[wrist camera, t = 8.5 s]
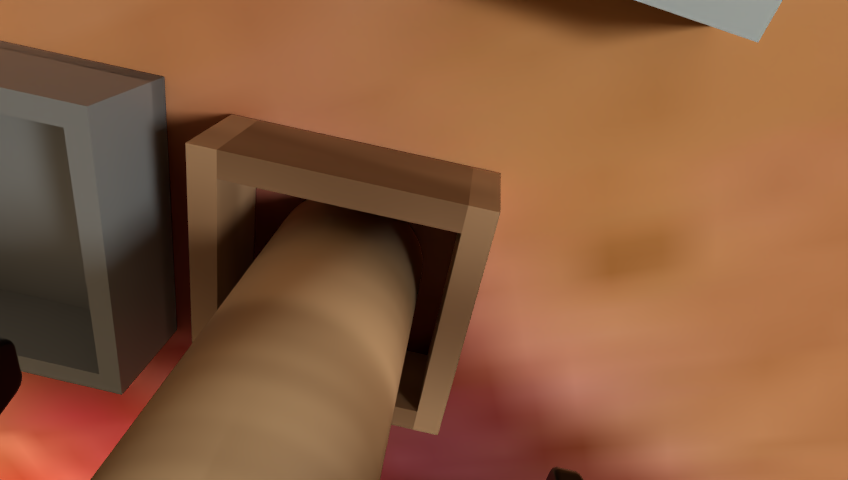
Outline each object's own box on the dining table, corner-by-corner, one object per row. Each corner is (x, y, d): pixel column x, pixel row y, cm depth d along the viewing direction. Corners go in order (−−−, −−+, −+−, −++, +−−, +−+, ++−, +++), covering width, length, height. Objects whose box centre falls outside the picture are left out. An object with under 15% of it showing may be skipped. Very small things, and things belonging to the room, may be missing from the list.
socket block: (445, 377, 15) (437, 435, 13) (229, 327, 15) (193, 379, 13) (500, 172, 12) (500, 212, 10) (231, 114, 12) (185, 142, 10)
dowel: (411, 331, 14) (313, 815, 6) (275, 305, 14) (9, 753, 6) (434, 207, 12) (338, 662, 5) (279, 178, 12) (-82, 576, 5)
